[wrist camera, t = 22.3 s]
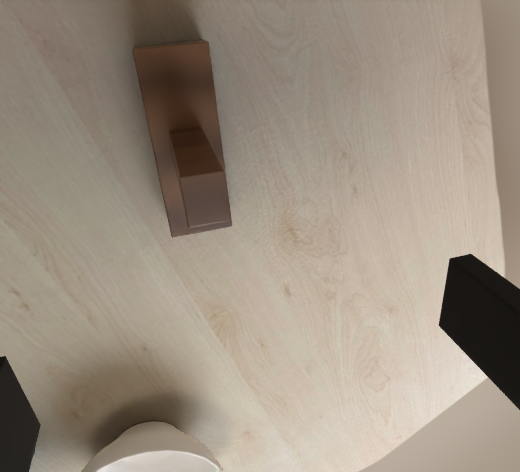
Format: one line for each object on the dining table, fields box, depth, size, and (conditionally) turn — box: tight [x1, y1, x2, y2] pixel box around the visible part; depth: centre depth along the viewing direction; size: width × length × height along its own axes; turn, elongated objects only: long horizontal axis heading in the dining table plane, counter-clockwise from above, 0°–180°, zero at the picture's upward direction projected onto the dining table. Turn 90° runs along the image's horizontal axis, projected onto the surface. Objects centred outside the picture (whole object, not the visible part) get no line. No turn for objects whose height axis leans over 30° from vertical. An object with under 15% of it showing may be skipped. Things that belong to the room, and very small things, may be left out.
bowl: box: [81, 421, 223, 472], centre depth 46 cm, size 16×16×7 cm
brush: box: [133, 39, 232, 237], centre depth 28 cm, size 14×5×14 cm, turn 5°
